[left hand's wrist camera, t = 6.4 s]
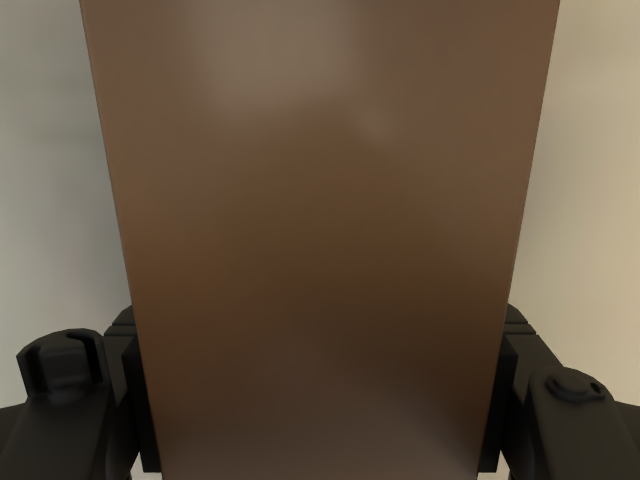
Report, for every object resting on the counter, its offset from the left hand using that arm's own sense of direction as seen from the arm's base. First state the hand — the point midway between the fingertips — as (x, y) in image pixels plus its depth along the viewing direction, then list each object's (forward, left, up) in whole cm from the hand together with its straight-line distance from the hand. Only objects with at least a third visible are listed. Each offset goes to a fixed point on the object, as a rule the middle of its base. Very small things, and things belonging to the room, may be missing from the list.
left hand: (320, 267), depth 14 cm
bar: (+15, -11, 0) cm, 19 cm away
